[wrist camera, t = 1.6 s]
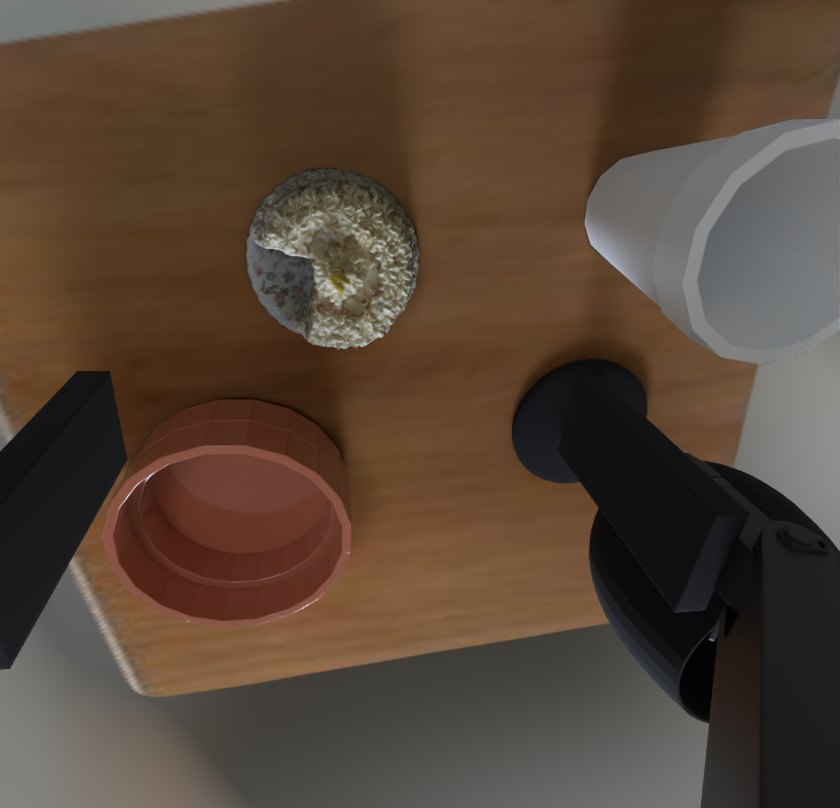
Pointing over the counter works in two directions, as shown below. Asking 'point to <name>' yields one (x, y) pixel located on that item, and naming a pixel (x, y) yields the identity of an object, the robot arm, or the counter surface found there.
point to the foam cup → (732, 236)
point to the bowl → (231, 515)
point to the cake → (332, 257)
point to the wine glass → (612, 560)
